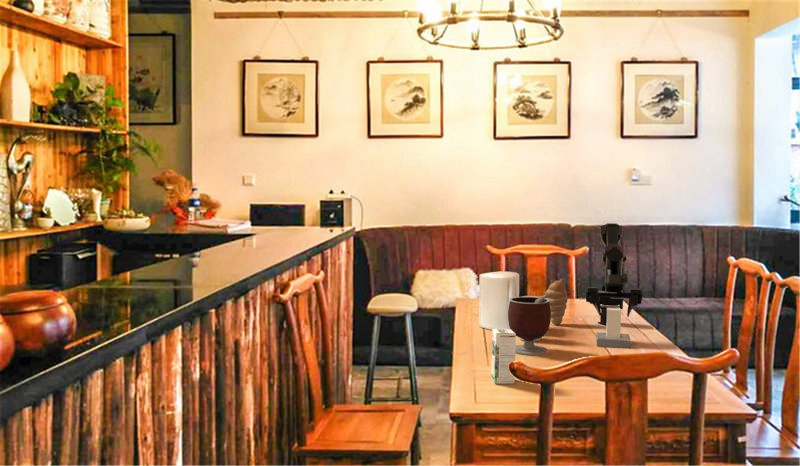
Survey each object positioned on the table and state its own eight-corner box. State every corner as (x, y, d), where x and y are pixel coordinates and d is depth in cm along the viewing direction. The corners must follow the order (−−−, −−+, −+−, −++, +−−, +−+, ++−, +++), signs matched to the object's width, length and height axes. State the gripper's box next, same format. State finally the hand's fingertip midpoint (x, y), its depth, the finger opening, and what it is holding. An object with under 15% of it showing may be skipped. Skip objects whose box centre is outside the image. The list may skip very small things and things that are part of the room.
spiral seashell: (560, 322, 288) (561, 277, 287) (571, 325, 281) (572, 279, 279) (541, 323, 285) (541, 278, 284) (551, 327, 278) (552, 280, 276)
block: (606, 334, 254) (606, 307, 253) (619, 335, 253) (620, 308, 252) (606, 337, 249) (607, 309, 249) (620, 337, 248) (621, 310, 247)
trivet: (596, 339, 258) (596, 331, 258) (628, 341, 255) (629, 333, 255) (596, 346, 247) (596, 338, 247) (630, 348, 244) (630, 340, 244)
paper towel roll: (515, 324, 283) (515, 268, 281) (530, 332, 269) (531, 273, 268) (478, 326, 280) (478, 269, 278) (491, 334, 266) (492, 274, 264)
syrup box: (490, 378, 208) (491, 328, 207) (510, 378, 208) (511, 328, 207) (494, 384, 202) (495, 333, 201) (515, 384, 203) (516, 332, 202)
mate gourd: (499, 349, 244) (499, 289, 242) (531, 344, 250) (532, 286, 249) (529, 359, 230) (529, 296, 229) (562, 353, 237) (563, 293, 235)
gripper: (586, 264, 255) (586, 300, 245) (642, 266, 251) (644, 303, 241) (586, 283, 263) (585, 319, 254) (640, 285, 259) (641, 322, 249)
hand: (613, 315), depth 249 cm, fingers open, 9 cm apart
